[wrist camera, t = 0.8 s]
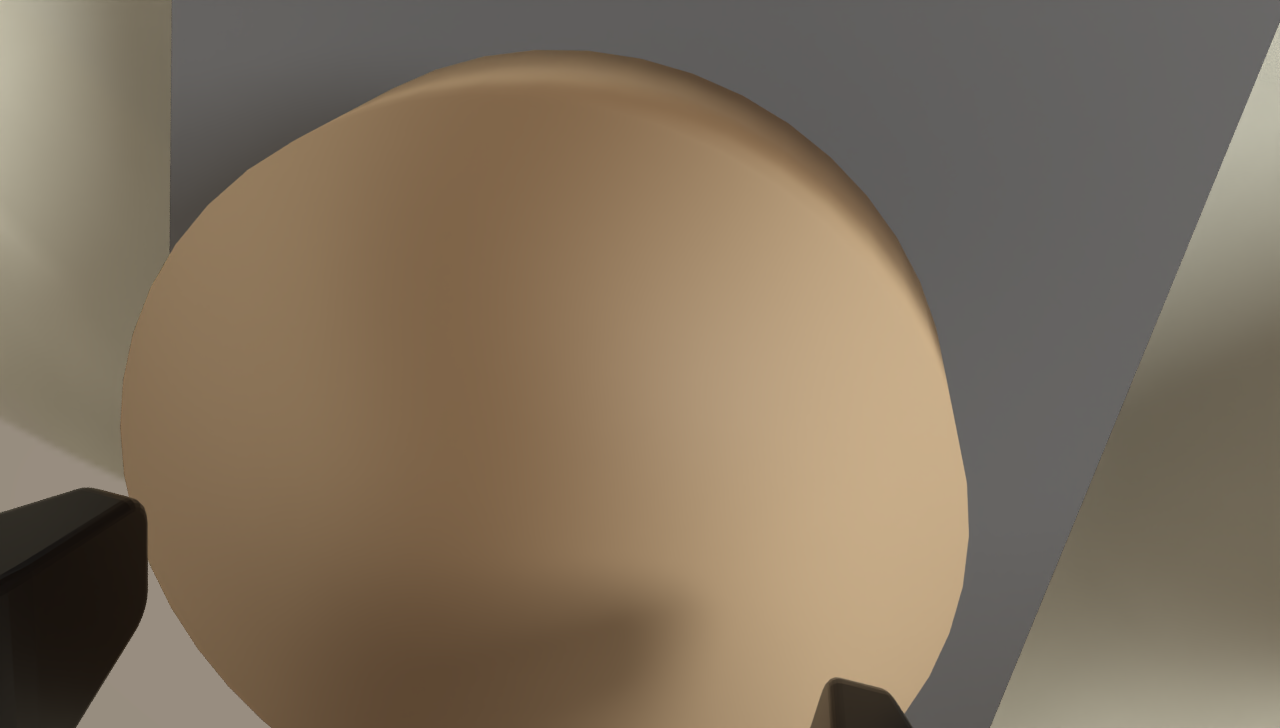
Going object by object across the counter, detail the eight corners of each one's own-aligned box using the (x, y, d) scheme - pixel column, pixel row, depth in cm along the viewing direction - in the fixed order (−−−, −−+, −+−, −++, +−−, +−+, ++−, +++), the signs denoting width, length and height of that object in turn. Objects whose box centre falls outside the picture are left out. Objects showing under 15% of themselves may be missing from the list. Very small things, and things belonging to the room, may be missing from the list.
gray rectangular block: (1173, -131, 17) (1338, -123, 11) (905, 628, 23) (926, 880, 17) (386, -290, 18) (174, -355, 12) (326, 483, 24) (166, 679, 18)
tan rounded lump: (995, 66, 13) (1103, 218, 8) (838, 568, 16) (837, 931, 11) (405, -60, 14) (114, -2, 8) (358, 449, 17) (123, 741, 11)
